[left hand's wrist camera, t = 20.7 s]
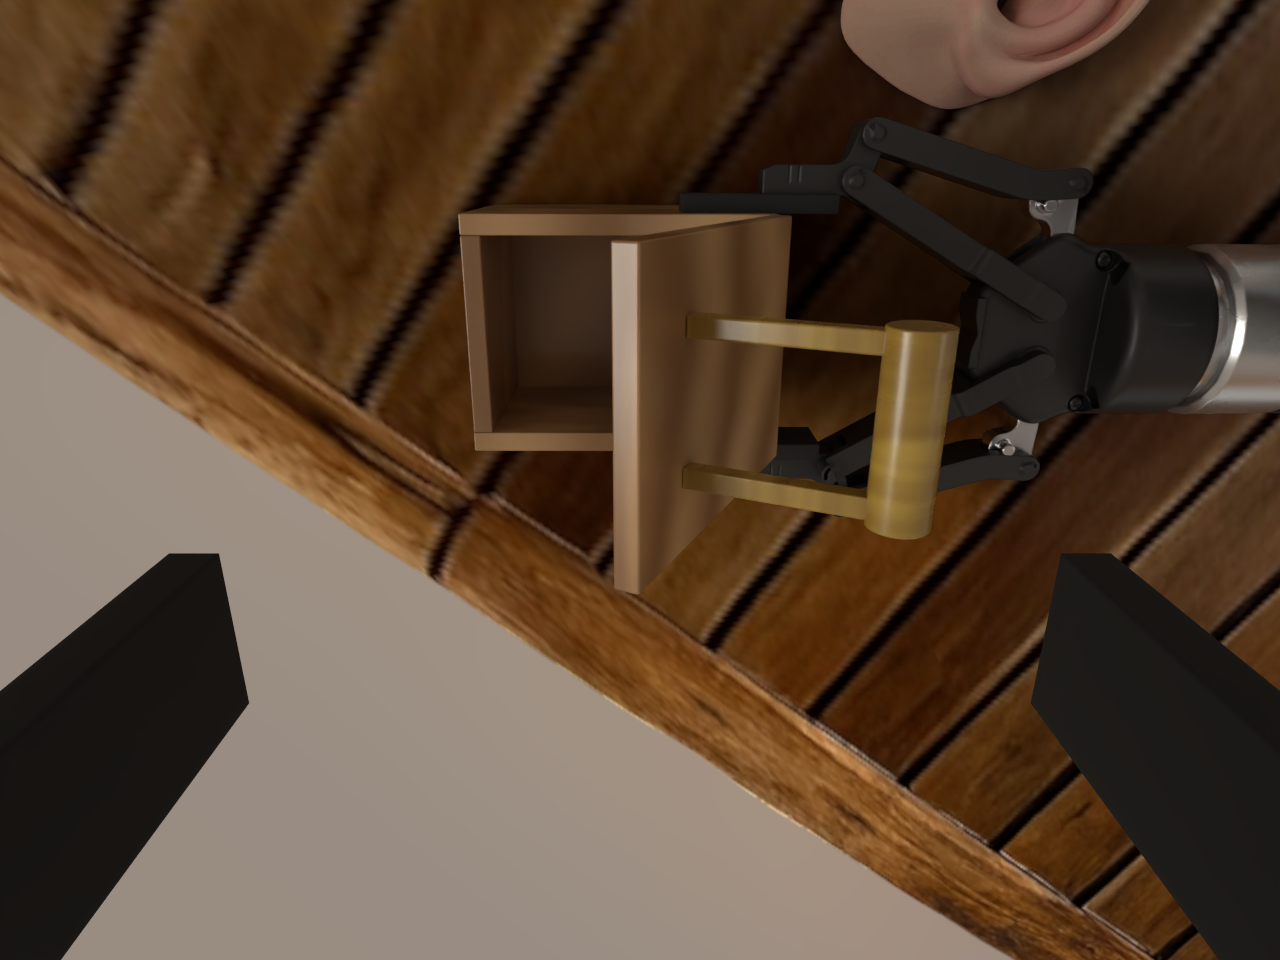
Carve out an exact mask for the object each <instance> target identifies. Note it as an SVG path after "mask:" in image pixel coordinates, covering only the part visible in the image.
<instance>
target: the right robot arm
mask: <svg viewBox="0 0 1280 960" xmlns="http://www.w3.org/2000/svg"><path fill="white" fill-rule="evenodd" d="M879 158H883V159H886V160H889V161H892V162H895V163H898V164H901V165H904V166H907V167H910V168H913V169H916V170H919V171H922V172H925V173H928V174H931V175H934V176H937V177H940V178H943V179H946V180H949V181H952V182H955V183H958V184H961V185H964V186H967V187H970V188H973V189H976V190H979V191H982V192H985V193H988V194H991V195H994V196H998V197H1002V198H1010V199H1020V210H1021V213H1022V214H1023V215H1024V216H1025V217H1027V218H1031V219H1035V220H1036V221H1038V223H1039V224H1040V226H1041V232H1042V233H1041V234H1040V235H1038V236H1036V237H1035V238H1033V239H1032V240H1030V241H1029V242H1027V243H1026V244H1024V245H1023V246H1021V247H1020V248H1018V249H1017V250H1015V251H1014V252H1012V253H1011V254H1009V255H1008V256H1006V257H1005V258H1004V257H1003V256H1001V255H1000V254H998V253H996V252H995V251H993V250H991V249H989V248H987V247H985V246H983V245H982V244H980V243H979V242H977V241H976V240H974V239H973V238H971V237H970V236H968V235H967V234H965V233H964V232H962V231H961V230H959V229H958V228H956V227H955V226H953V225H952V224H950V223H949V222H947V221H946V220H944V219H943V218H941V217H940V216H938V215H937V214H935V213H934V212H932V211H931V210H929V209H928V208H926V207H925V206H923V205H922V204H920V203H919V202H917V201H916V200H914V199H913V198H911V197H910V196H908V195H907V194H905V193H904V192H902V191H901V190H899V189H898V188H896V187H895V186H893V185H892V184H890V183H889V182H887V181H886V180H884V179H883V178H881V177H880V176H878V175H877V174H875V173H874V170H875V167H876V165H877V163H878V160H879ZM1092 186H1093V176H1092V174H1091V172H1090V171H1089V170H1087V169H1084V168H1045V169H1034V168H1031V167H1028V166H1025V165H1022V164H1019V163H1016V162H1013V161H1010V160H1007V159H1004V158H1001V157H998V156H996V155H993V154H990V153H987V152H984V151H981V150H978V149H975V148H972V147H969V146H966V145H963V144H960V143H957V142H954V141H951V140H948V139H946V138H943V137H940V136H937V135H934V134H931V133H928V132H925V131H922V130H919V129H916V128H913V127H910V126H907V125H904V124H901V123H898V122H896V121H893V120H890V119H887V118H884V117H875V118H871V119H866V120H862V121H859V122H857V123H856V124H854V125H853V126H852V128H851V130H850V132H849V140H848V142H847V145H846V147H845V149H844V152H843V154H842V155H841V157H840V158H839V159H838V160H837V161H835V162H834V163H832V164H828V165H769V166H767V167H764V168H762V169H759V178H758V193H679V211H680V212H681V213H776V214H839V206H840V196H842V197H843V198H845V199H846V200H848V201H849V202H851V203H852V204H854V205H855V206H857V207H858V208H860V209H861V210H863V211H865V212H866V213H868V214H869V215H871V216H872V217H874V218H875V219H877V220H878V221H880V222H881V223H883V224H884V225H886V226H887V227H889V228H890V229H892V230H893V231H895V232H897V233H898V234H900V235H901V236H903V237H904V238H906V239H907V240H909V241H910V242H912V243H913V244H915V245H916V246H918V247H919V248H921V249H922V250H924V251H925V252H927V253H929V254H930V255H932V256H933V257H935V258H936V259H938V260H939V261H941V262H942V263H944V264H945V265H947V267H948V268H950V269H951V270H952V271H954V272H956V273H957V274H959V275H960V276H962V277H963V278H965V279H966V280H968V281H969V282H971V284H970V285H969V287H968V289H967V291H966V292H962V293H961V300H960V307H959V310H960V318H961V328H960V331H959V338H958V346H957V353H956V360H955V361H956V362H957V364H956V365H955V367H954V374H953V381H952V388H951V395H950V402H949V409H948V416H947V423H949V422H950V421H952V420H954V419H956V418H959V417H968V416H971V415H974V414H976V413H978V412H980V411H982V410H984V409H986V408H988V407H990V406H992V405H993V404H995V403H996V404H997V405H999V406H1000V407H1001V408H1002V409H1004V410H1005V411H1006V412H1007V413H1009V414H1010V418H1009V420H1008V421H1007V423H1006V424H1004V425H1003V426H1001V427H999V428H994V429H991V430H987V431H985V432H984V434H983V439H969V440H962V441H958V442H954V443H950V444H946V445H943V451H942V458H941V465H940V472H939V480H938V487H937V492H940V491H943V490H947V489H951V488H955V487H959V486H962V485H966V484H970V483H974V482H977V481H981V480H985V479H1004V480H1022V481H1025V480H1030V479H1032V478H1034V477H1035V476H1036V475H1037V473H1038V471H1039V466H1040V464H1039V462H1038V460H1037V459H1035V458H1034V457H1033V456H1031V454H1032V449H1033V445H1034V441H1035V437H1036V433H1037V429H1038V425H1039V423H1041V422H1044V421H1046V420H1048V419H1050V418H1052V417H1055V416H1057V415H1060V414H1065V413H1161V412H1164V411H1169V412H1171V413H1178V414H1215V413H1280V245H1272V244H1194V245H1191V246H1188V247H1185V246H1183V245H1179V244H1094V243H1088V242H1086V241H1084V240H1083V239H1081V238H1080V237H1078V236H1077V235H1074V230H1075V223H1076V215H1077V207H1078V199H1079V198H1082V197H1084V196H1085V195H1087V194H1088V193H1089V191H1090V190H1091V189H1092ZM875 413H876V411H875V412H873V413H871V414H870V415H868V416H866V417H864V418H862V419H860V420H858V421H856V422H855V423H853V424H851V425H849V426H847V427H845V428H843V429H841V430H839V431H838V432H836V433H834V434H832V435H830V436H828V437H826V438H824V439H823V440H821V441H819V442H817V440H816V439H815V437H814V436H813V434H812V432H811V431H810V429H809V428H808V427H778V438H777V454H776V457H775V458H774V459H773V460H772V461H771V462H770V463H769V464H768V465H767V466H766V467H765V468H764V469H763V470H762V471H761V472H760V473H762V474H768V475H775V476H781V477H787V478H808V479H813V480H815V481H816V482H819V483H825V484H831V485H838V486H844V487H850V488H856V489H863V490H867V486H868V477H869V468H870V465H869V466H866V465H868V464H870V459H871V449H872V440H873V431H874V422H875ZM947 423H946V424H947ZM864 466H865V467H864ZM834 516H836V517H845V516H839V515H834Z"/></svg>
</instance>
